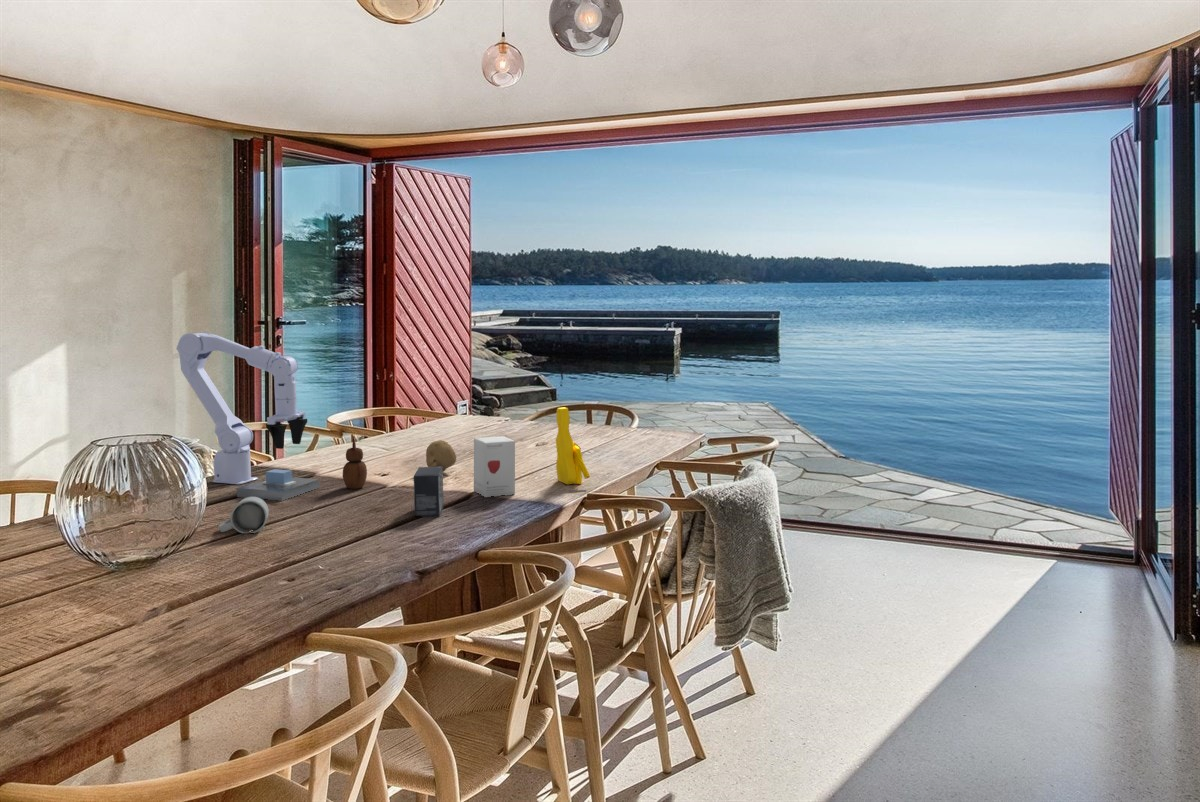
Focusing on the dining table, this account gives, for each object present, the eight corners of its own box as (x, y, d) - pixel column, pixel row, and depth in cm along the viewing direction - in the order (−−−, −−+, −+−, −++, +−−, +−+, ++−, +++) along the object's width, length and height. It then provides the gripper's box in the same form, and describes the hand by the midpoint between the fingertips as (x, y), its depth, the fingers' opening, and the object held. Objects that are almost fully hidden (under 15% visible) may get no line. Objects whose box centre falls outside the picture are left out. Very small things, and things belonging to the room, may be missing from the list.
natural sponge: (459, 470, 268) (459, 438, 267) (451, 476, 259) (451, 443, 258) (430, 469, 269) (430, 437, 268) (422, 475, 260) (421, 442, 259)
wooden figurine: (359, 491, 240) (357, 437, 238) (339, 489, 241) (338, 436, 239) (370, 485, 246) (369, 433, 244) (351, 484, 247) (350, 432, 245)
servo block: (263, 493, 236) (262, 471, 235) (271, 490, 239) (271, 468, 239) (287, 495, 234) (287, 473, 233) (296, 492, 237) (295, 470, 236)
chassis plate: (237, 497, 231) (236, 487, 231) (276, 484, 246) (275, 475, 246) (281, 501, 227) (281, 491, 227) (318, 488, 242) (318, 479, 242)
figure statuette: (595, 487, 246) (596, 410, 244) (570, 490, 243) (571, 411, 240) (567, 475, 262) (568, 403, 259) (543, 478, 258) (544, 404, 256)
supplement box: (484, 498, 233) (483, 442, 231) (473, 491, 241) (472, 437, 239) (516, 494, 237) (515, 440, 235) (503, 488, 245) (503, 435, 243)
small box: (418, 506, 223) (417, 466, 222) (444, 506, 223) (443, 466, 222) (413, 517, 212) (412, 474, 211) (440, 516, 213) (439, 474, 212)
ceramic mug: (270, 523, 205) (268, 491, 204) (267, 533, 197) (265, 499, 196) (221, 527, 202) (219, 495, 201) (216, 537, 194) (214, 503, 193)
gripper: (281, 402, 239) (283, 451, 241) (313, 396, 253) (315, 442, 254) (259, 401, 241) (262, 450, 243) (292, 395, 255) (295, 441, 256)
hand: (288, 446), depth 249 cm, fingers open, 7 cm apart
